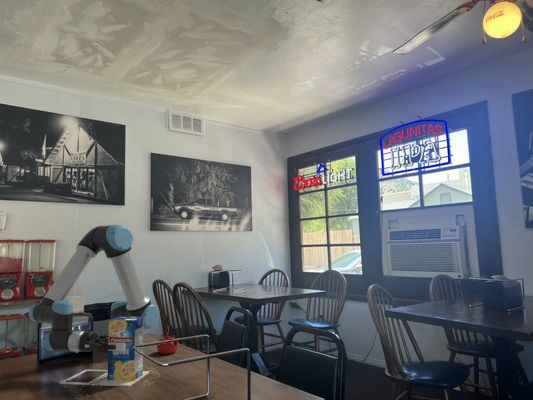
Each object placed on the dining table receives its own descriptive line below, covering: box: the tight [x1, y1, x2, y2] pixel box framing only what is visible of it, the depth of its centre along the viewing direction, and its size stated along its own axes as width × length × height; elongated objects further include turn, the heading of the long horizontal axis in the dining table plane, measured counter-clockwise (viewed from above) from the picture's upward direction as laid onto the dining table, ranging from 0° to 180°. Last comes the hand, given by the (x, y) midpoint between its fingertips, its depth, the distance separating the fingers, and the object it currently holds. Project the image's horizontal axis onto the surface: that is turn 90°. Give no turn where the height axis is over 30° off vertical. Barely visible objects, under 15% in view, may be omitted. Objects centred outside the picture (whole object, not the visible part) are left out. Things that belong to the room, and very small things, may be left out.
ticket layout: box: [59, 369, 150, 388], centre depth 152 cm, size 16×28×1 cm, turn 81°
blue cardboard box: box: [106, 317, 144, 381], centre depth 152 cm, size 7×11×22 cm, turn 81°
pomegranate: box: [156, 332, 179, 355], centre depth 188 cm, size 10×10×9 cm
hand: (133, 342), depth 152 cm, fingers open, 13 cm apart
